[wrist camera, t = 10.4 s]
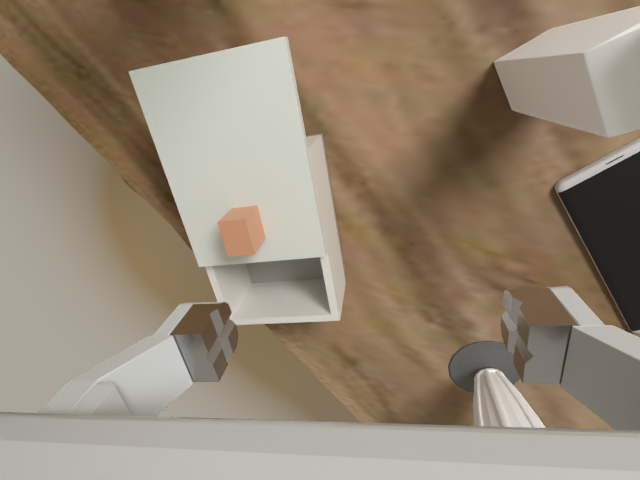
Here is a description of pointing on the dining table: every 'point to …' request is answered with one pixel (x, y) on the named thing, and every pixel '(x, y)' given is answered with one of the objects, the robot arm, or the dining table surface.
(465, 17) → the dining table surface
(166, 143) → the lid
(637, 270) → the smartphone
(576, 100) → the milk
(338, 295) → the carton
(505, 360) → the cup
